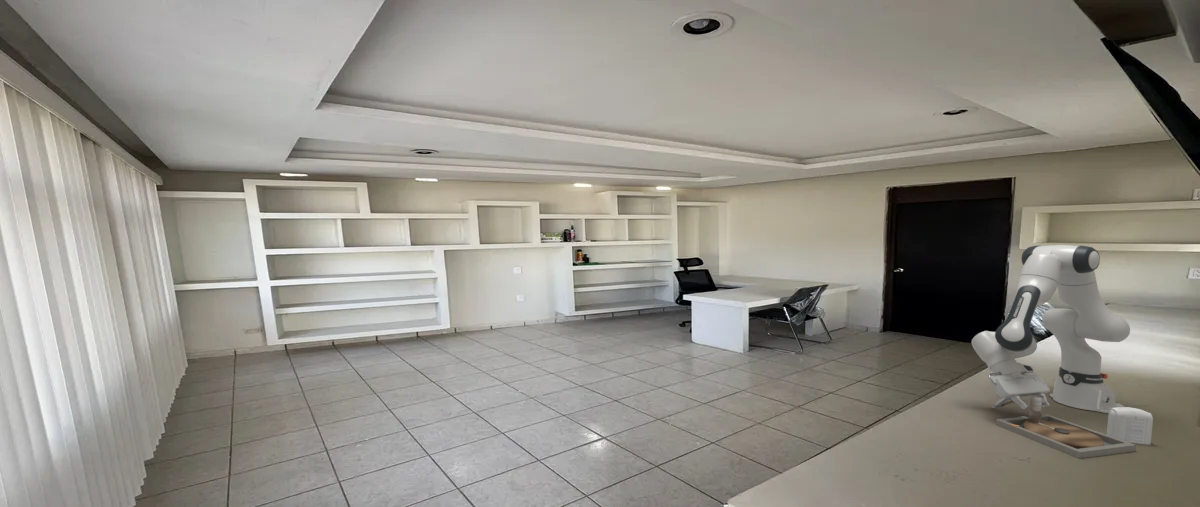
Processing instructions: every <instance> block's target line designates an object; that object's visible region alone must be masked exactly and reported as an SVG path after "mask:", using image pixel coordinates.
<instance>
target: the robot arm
mask: <svg viewBox="0 0 1200 507" xmlns="http://www.w3.org/2000/svg"><path fill="white" fill-rule="evenodd" d="M1100 261H1101V256H1100V253H1099V251H1098V250H1097V249H1095V248H1094V247H1092V246H1087V245H1071V244H1070V245H1069V244H1058V245H1056V244H1053V245H1052V244H1051V245H1050V244H1049V245H1032V246H1029V247H1027V248H1026V249H1024V251H1023V252H1022V254H1021V263H1022V265H1023V266H1022V267H1021V270H1020V273H1019V275H1018V278H1017V281H1016V282H1017V283H1016V288H1015V297H1014V300H1013V303H1012V305H1011V309H1010V311H1009V313H1008V316H1007V317H1006V319H1005V320H1004V322H1003V323H1001V324H1000V325H999V326H998V327H997V328H996V330H995V331H989V330H984V331H980V332H978V333H976V334H975V335H974V336H973V338H972V339H971V346H972V349H974V351H975V353H976V354H977V355H978V356H979V358H980V360H982V361H983V362H984V363H985V364H986V366H987V368H988V370H989V371H990V373H989V374H988V379H989V380H990V384H991V385H992V388H993V389H994V391H995V392H996V394H997V395H998V396H999V397H1000V398H1001V399H1002V398H1011V401H1012V402H1014V403H1015V404H1017V405H1018V406H1019V407H1020V409H1022V410H1027V409H1030V404H1028V403H1027V402H1025V401H1023V399H1021V398H1022V397H1023V398H1024V397H1025V398H1026V397H1030V396H1037V397H1040V398H1042V407H1041V408H1048V407H1050V406H1051V405H1050V403H1049V402H1048V400H1047V396H1046V394H1048V393H1049V392H1050V394H1049V397H1051V398H1052V399H1053V401H1055V402H1056V403H1059V404H1061V405H1065V406H1068V407H1071V408H1075V409H1080V410H1084V411H1085V410H1086V411H1092V412H1098V413H1104V414H1109V410H1110V409H1111V408H1116V407H1125V406H1124V404H1121V403H1119V402H1116V394H1115V391H1114V390H1112V389H1111V388H1110V387H1109V386H1108V385H1106V384H1105V383H1104V379H1105V380H1107V379H1108V378H1109V375H1108V374H1107V373H1102V372H1101V367H1102V355H1101V353H1100V352H1099V351H1098V350H1096V349H1095V348H1093V347H1092V346H1090V345H1089V344H1088V342H1087V341H1086V339H1087V340H1094V341H1099V342H1106V343H1107V342H1108V343H1121V342H1123V341H1124V340H1126V339H1127V338H1128V337H1129V336H1130V333H1131V327H1130V325H1129V322H1127V320H1125V318H1122V317H1121V316H1119V315H1118V314H1116V313H1114V312H1113V311H1112V310H1111V309H1110V308H1109V307H1108V306H1107V305H1106V304H1105V302H1104V301H1103V300H1102V297H1101V294H1100V292H1099V287H1098V283H1097V276H1096V273H1095V270H1096V269H1098V267H1099V265H1100V263H1101V262H1100ZM1056 290H1057V292H1058V297H1059V299H1060V300H1061V302H1062V303H1064V304H1066V305H1067V306H1068V307H1071V308H1072V309H1071V308H1063V307H1062V308H1058V307H1057V308H1049V309H1047V310H1046V311H1045V312H1044V313H1043V314H1042V324H1043V326H1044V328H1045V329H1047V330H1048V331H1049V332H1050V333H1051V334H1052V335H1053V336H1054V337H1055V339H1056V341H1057V342H1058V345H1059V347H1060V352H1061V353H1060V354H1061V355H1060V357H1061V359H1060V360H1061V362H1060V363H1061V364H1060V367H1059V369H1058V376H1059V377H1056V378H1055V382H1054V386H1053V392H1052V393H1051V391H1050V387H1049V385H1048V384H1047V383H1046V382H1045V381H1044V379H1043V378H1041V376H1040V375H1039V374H1038V373H1036V370H1035V368H1034V367H1033V366H1030V365H1028V364H1027V365H1026V364H1024V363H1021V362H1017V360H1016V359H1018V358H1024V357H1027V356H1028V357H1029V356H1030V355H1032V354H1034V353H1035V352H1036V351H1037V347H1038V346H1037V341H1036V340H1035V338H1034V336H1033V335H1032V334H1033V333H1032V330H1031V323H1032V320H1033V318H1034V315H1035V312H1036V310H1037V307H1038V306H1039V304H1041V303H1045V302H1047V301H1048V302H1049V301H1050V300H1051V299H1052V298H1053V296H1054V294H1055V293H1056Z"/></svg>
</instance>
